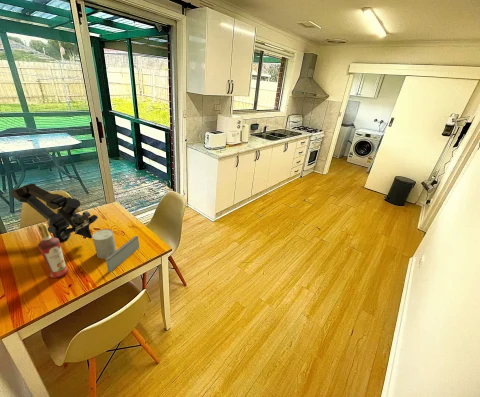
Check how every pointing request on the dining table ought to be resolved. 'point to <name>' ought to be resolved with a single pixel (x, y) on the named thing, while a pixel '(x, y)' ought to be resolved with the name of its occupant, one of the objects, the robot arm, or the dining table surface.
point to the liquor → (52, 253)
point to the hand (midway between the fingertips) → (91, 238)
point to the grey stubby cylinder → (104, 243)
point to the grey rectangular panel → (122, 253)
